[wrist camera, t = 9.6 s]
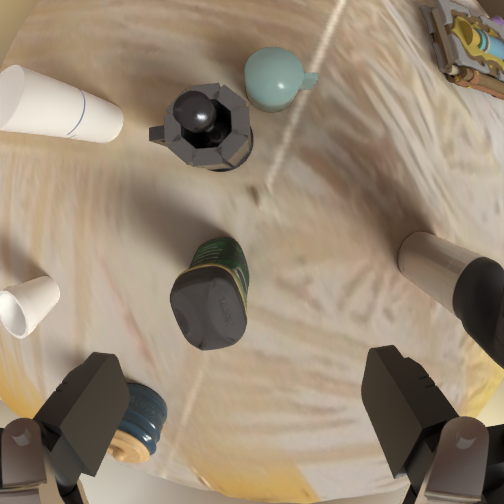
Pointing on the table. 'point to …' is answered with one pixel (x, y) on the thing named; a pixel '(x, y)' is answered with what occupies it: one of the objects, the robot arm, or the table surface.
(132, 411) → the canister
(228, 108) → the faceted grey mug
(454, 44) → the decorative book
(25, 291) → the foam cup
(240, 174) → the table surface
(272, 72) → the teal mug
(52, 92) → the cylindrical container
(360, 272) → the table surface
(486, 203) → the table surface
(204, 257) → the coffee jar
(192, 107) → the plunger
